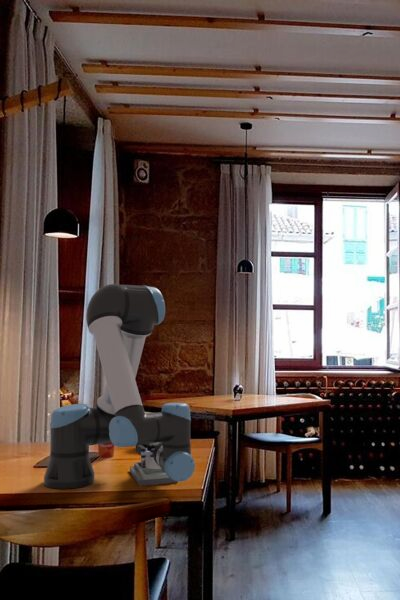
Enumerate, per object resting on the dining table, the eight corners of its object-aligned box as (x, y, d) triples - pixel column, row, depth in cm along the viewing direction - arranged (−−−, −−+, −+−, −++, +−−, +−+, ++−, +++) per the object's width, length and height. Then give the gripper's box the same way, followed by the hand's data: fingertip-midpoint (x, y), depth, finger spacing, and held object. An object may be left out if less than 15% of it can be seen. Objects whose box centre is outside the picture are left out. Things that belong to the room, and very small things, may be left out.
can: (163, 470, 162) (162, 430, 163) (143, 469, 163) (142, 430, 164) (168, 465, 168) (168, 427, 169) (149, 464, 170) (148, 426, 171)
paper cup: (92, 457, 198) (92, 419, 199) (102, 453, 205) (102, 416, 206) (110, 459, 196) (110, 420, 197) (120, 454, 203) (120, 417, 204)
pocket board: (139, 485, 160) (139, 476, 160) (129, 471, 177) (129, 462, 177) (178, 482, 163) (177, 473, 163) (165, 468, 181) (165, 460, 181)
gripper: (134, 472, 146) (122, 455, 168) (201, 467, 152) (182, 451, 174) (134, 444, 147) (122, 431, 169) (201, 440, 152) (181, 428, 174)
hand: (152, 441), depth 171 cm, fingers closed on can, 6 cm apart
